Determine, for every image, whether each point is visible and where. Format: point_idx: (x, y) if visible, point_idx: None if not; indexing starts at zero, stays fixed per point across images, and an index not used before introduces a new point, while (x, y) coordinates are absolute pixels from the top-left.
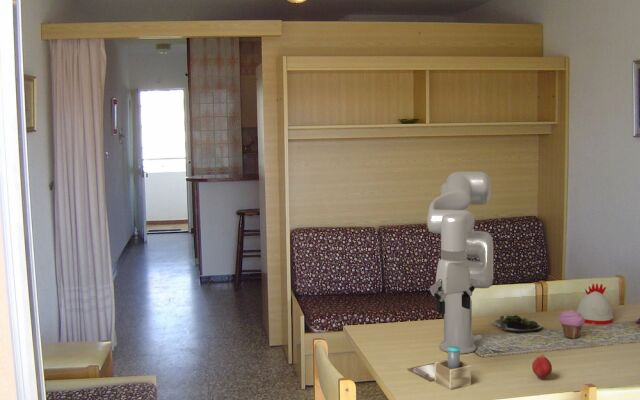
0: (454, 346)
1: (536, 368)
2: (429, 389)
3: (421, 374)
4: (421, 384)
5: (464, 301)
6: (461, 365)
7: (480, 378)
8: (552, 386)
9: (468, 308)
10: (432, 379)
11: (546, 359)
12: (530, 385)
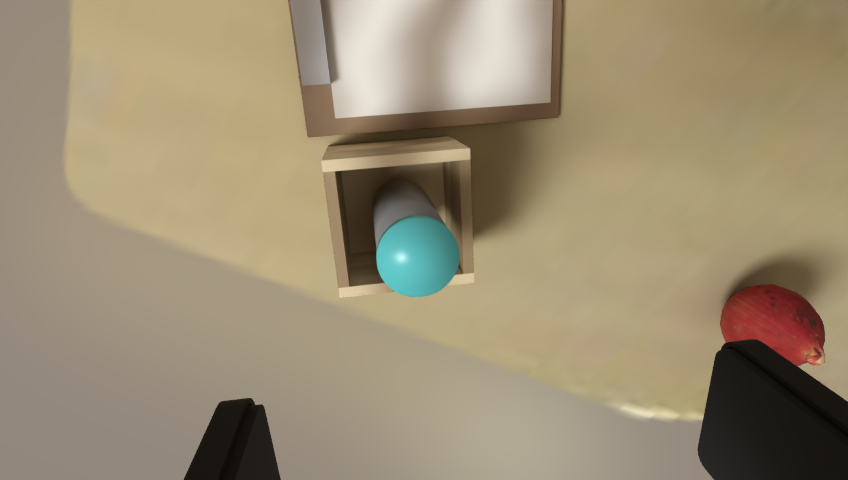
0: (446, 229)
1: (734, 339)
2: (255, 215)
3: (299, 53)
4: (248, 147)
5: (786, 474)
6: (458, 218)
7: (541, 200)
8: (699, 368)
9: (710, 458)
10: (324, 131)
11: (806, 362)
12: (647, 335)
